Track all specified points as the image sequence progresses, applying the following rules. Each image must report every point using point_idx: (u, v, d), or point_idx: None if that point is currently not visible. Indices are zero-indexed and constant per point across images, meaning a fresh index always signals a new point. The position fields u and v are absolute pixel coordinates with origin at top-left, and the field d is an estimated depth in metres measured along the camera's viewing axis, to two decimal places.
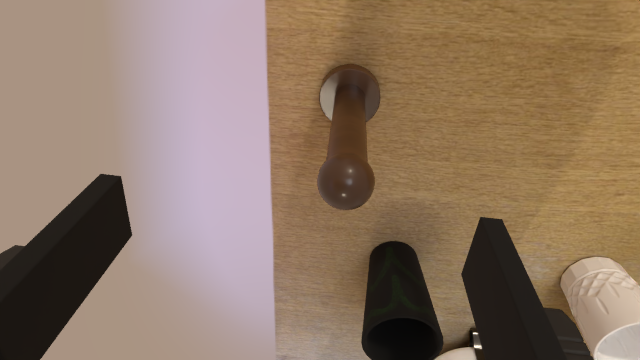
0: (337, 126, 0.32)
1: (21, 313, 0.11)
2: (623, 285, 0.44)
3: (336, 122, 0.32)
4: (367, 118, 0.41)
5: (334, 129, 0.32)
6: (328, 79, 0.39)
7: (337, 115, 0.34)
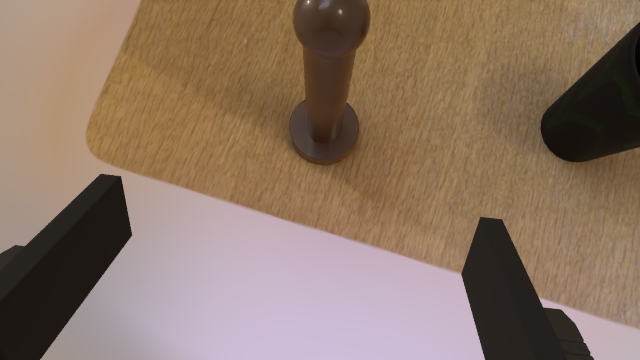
0: (305, 82, 0.26)
1: (22, 313, 0.11)
2: None
3: (306, 91, 0.27)
4: (351, 112, 0.35)
5: (307, 85, 0.26)
6: (295, 143, 0.34)
7: (306, 99, 0.28)
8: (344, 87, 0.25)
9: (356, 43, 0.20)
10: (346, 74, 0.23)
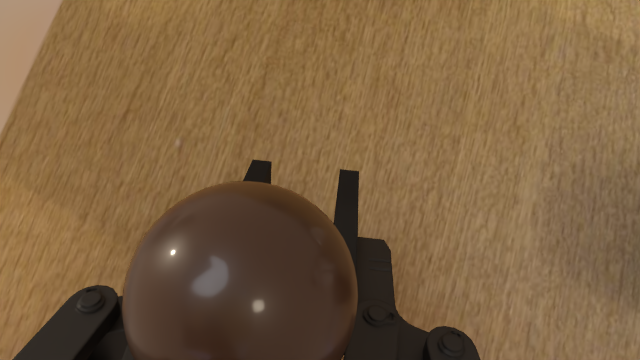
0: None
1: None
2: None
3: None
4: None
5: None
6: None
7: None
8: None
9: None
10: None
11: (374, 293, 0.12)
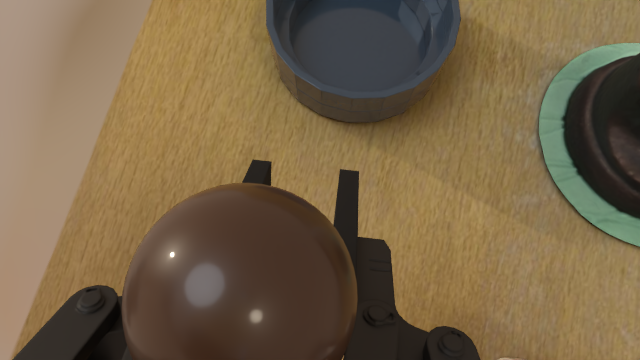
0: None
1: None
2: None
3: None
4: None
5: None
6: None
7: None
8: None
9: None
10: None
11: (374, 293, 0.12)
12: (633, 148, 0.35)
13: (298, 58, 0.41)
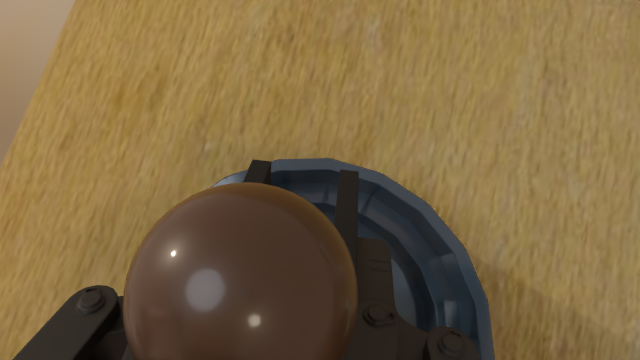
0: None
1: None
2: None
3: None
4: None
5: None
6: None
7: None
8: None
9: None
10: None
11: (374, 293, 0.12)
12: None
13: None
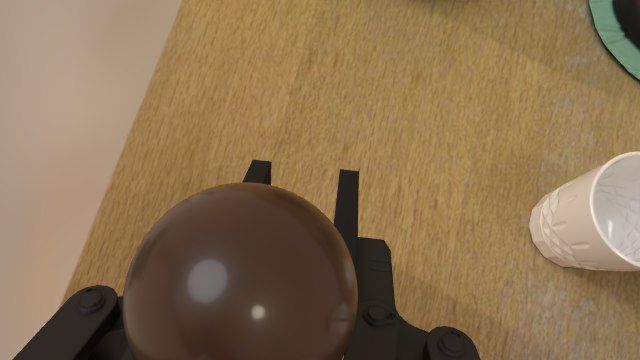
0: None
1: None
2: (554, 210, 0.33)
3: None
4: None
5: None
6: None
7: None
8: None
9: None
10: None
11: (374, 293, 0.12)
12: None
13: None
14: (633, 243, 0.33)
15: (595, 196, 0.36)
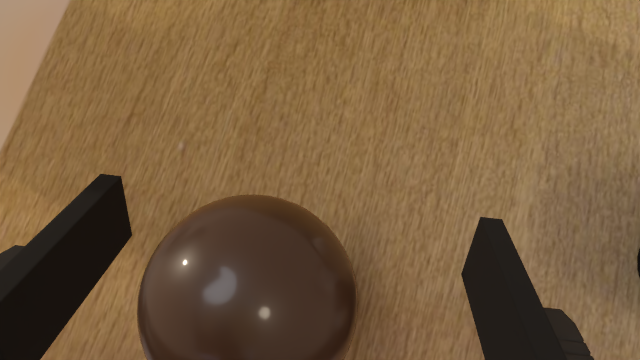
0: None
1: (22, 313, 0.11)
2: None
3: None
4: None
5: None
6: None
7: None
8: None
9: None
10: None
11: None
12: None
13: None
14: None
15: None
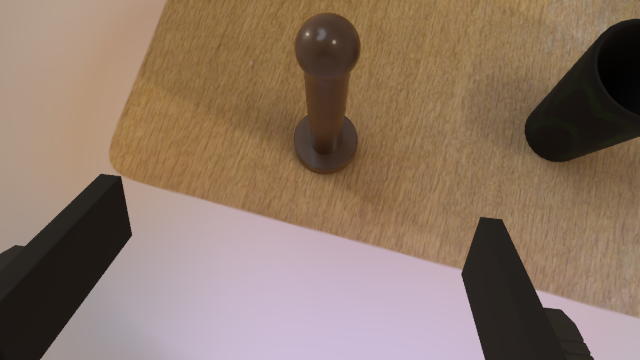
0: (307, 101, 0.29)
1: (21, 313, 0.11)
2: None
3: (308, 108, 0.30)
4: (350, 125, 0.38)
5: (308, 103, 0.29)
6: (300, 155, 0.38)
7: (308, 115, 0.31)
8: (341, 104, 0.28)
9: (349, 67, 0.23)
10: (342, 93, 0.27)
11: None
12: None
13: None
14: None
15: None
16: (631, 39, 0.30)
